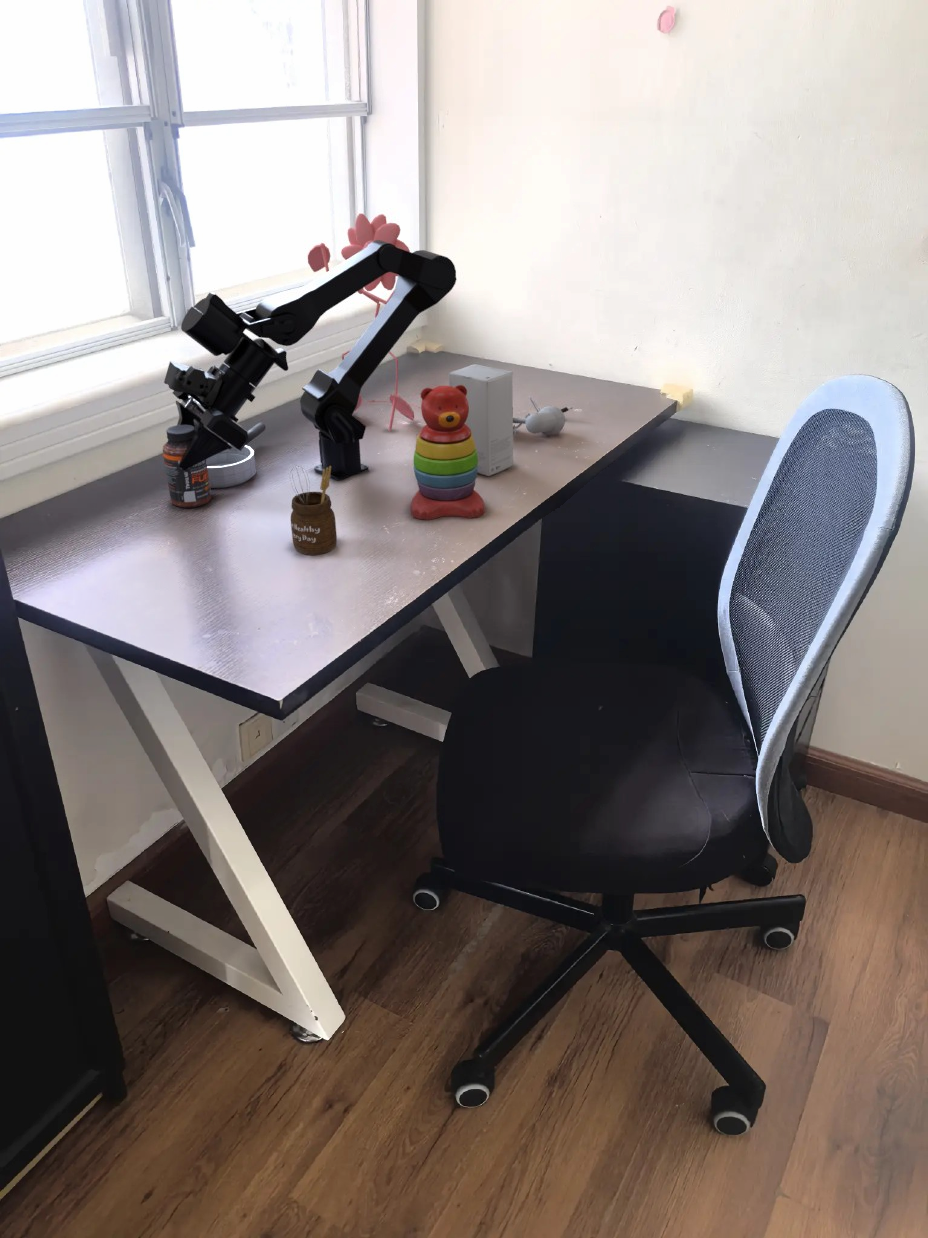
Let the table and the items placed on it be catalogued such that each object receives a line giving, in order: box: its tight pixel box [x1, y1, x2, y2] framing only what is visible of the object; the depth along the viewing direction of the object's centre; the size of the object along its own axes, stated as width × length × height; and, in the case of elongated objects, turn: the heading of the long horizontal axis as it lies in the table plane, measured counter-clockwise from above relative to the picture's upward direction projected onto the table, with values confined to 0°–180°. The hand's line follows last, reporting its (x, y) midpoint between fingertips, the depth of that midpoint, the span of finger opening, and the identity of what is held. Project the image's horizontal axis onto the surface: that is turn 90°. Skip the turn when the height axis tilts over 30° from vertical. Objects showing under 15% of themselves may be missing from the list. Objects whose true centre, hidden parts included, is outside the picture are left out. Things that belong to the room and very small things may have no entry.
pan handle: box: [229, 422, 267, 451], centre depth 155 cm, size 11×2×2 cm, turn 166°
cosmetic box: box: [448, 363, 514, 477], centre depth 146 cm, size 8×7×16 cm
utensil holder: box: [289, 466, 338, 556], centre depth 122 cm, size 6×6×12 cm
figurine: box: [307, 213, 421, 436], centre depth 163 cm, size 15×26×35 cm, turn 66°
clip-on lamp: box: [513, 395, 573, 437], centre depth 164 cm, size 12×6×18 cm
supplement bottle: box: [162, 424, 212, 509], centre depth 135 cm, size 6×6×11 cm
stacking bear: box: [410, 385, 486, 520], centre depth 132 cm, size 11×10×18 cm
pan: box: [206, 443, 257, 489], centre depth 146 cm, size 11×11×4 cm
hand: (175, 461), depth 134 cm, fingers closed on supplement bottle, 6 cm apart
